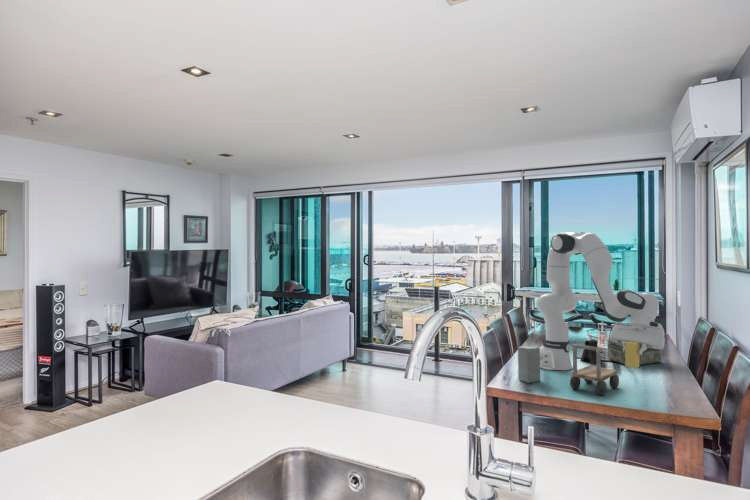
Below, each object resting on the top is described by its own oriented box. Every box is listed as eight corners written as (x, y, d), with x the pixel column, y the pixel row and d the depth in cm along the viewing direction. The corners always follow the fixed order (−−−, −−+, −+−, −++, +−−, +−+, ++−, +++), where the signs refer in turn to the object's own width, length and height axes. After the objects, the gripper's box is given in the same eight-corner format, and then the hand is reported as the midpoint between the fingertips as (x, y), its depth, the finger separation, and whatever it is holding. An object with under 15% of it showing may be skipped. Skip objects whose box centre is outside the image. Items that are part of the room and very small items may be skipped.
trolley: (570, 390, 196) (569, 343, 196) (589, 380, 209) (589, 337, 209) (600, 397, 186) (600, 348, 186) (619, 386, 199) (618, 341, 199)
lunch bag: (630, 368, 230) (630, 325, 230) (602, 359, 248) (601, 320, 247) (667, 363, 239) (667, 322, 238) (637, 355, 256) (637, 317, 256)
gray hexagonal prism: (528, 383, 205) (528, 349, 205) (516, 379, 212) (516, 346, 212) (541, 381, 209) (541, 347, 209) (529, 377, 216) (529, 344, 216)
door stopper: (602, 363, 239) (602, 341, 239) (594, 365, 236) (594, 342, 236) (588, 360, 247) (587, 338, 247) (580, 361, 245) (580, 339, 245)
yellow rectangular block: (625, 366, 186) (625, 342, 186) (628, 364, 189) (629, 341, 189) (635, 368, 183) (635, 344, 183) (639, 366, 186) (639, 342, 186)
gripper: (612, 318, 198) (603, 343, 192) (665, 325, 183) (657, 352, 176) (616, 327, 201) (607, 352, 195) (669, 334, 186) (661, 361, 179)
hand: (631, 352), depth 185 cm, fingers closed on yellow rectangular block, 4 cm apart
